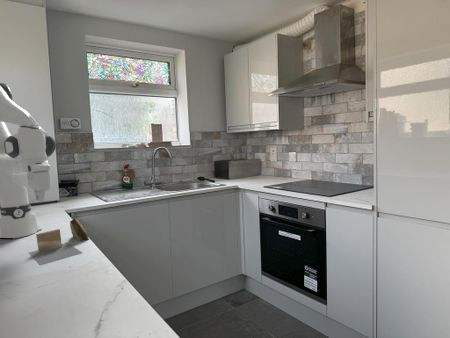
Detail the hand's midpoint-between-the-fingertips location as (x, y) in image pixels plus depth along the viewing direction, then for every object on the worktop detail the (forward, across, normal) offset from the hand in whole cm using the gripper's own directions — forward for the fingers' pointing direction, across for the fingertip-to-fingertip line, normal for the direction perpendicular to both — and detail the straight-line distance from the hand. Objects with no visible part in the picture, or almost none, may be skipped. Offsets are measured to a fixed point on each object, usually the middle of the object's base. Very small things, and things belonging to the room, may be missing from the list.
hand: (40, 200), depth 127 cm
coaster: (+19, +6, 0) cm, 20 cm away
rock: (+19, +1, +13) cm, 23 cm away
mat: (+19, +13, 0) cm, 23 cm away
